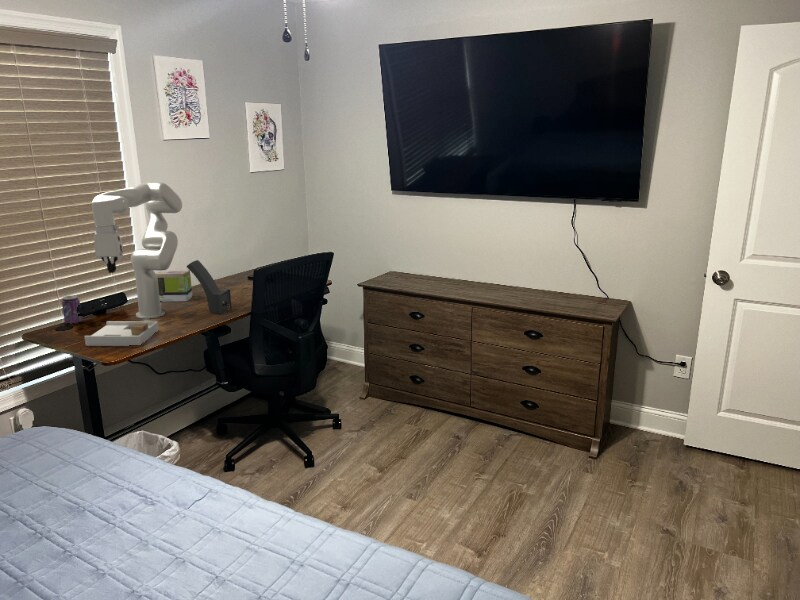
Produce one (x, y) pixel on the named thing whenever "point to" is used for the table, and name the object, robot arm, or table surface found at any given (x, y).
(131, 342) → the box
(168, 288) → the tea box
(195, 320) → the table surface
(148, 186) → the robot arm
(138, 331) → the walnut block
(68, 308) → the beverage can
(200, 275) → the light fixture
